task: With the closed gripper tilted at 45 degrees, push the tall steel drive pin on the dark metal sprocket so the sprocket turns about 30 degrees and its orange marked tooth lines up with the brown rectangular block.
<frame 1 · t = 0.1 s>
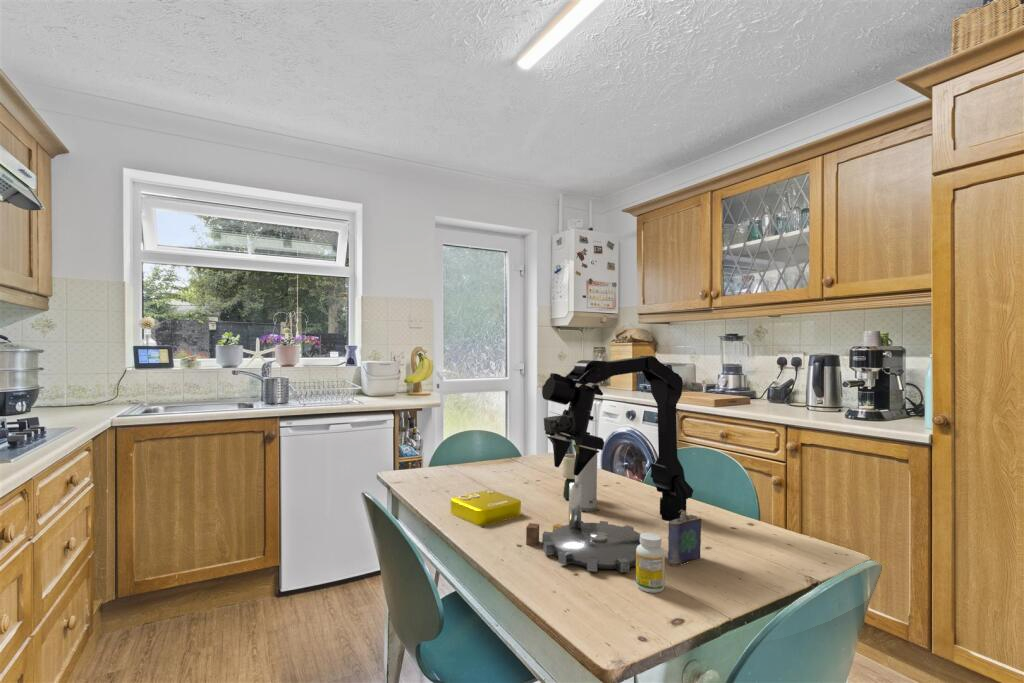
hand: (565, 471, 125), 15 cm above the table, tool pointing down, fingers open, 9 cm apart
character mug: (573, 499, 155), on the table
element tile: (485, 515, 140), on the table
travel mug: (586, 509, 145), on the table
sprocket: (599, 520, 114), point 7 cm above the table, hinge at 0.0°
brown rectangular block: (532, 542, 118), on the table
flask: (684, 561, 109), on the table
supplement bottle: (650, 587, 97), on the table
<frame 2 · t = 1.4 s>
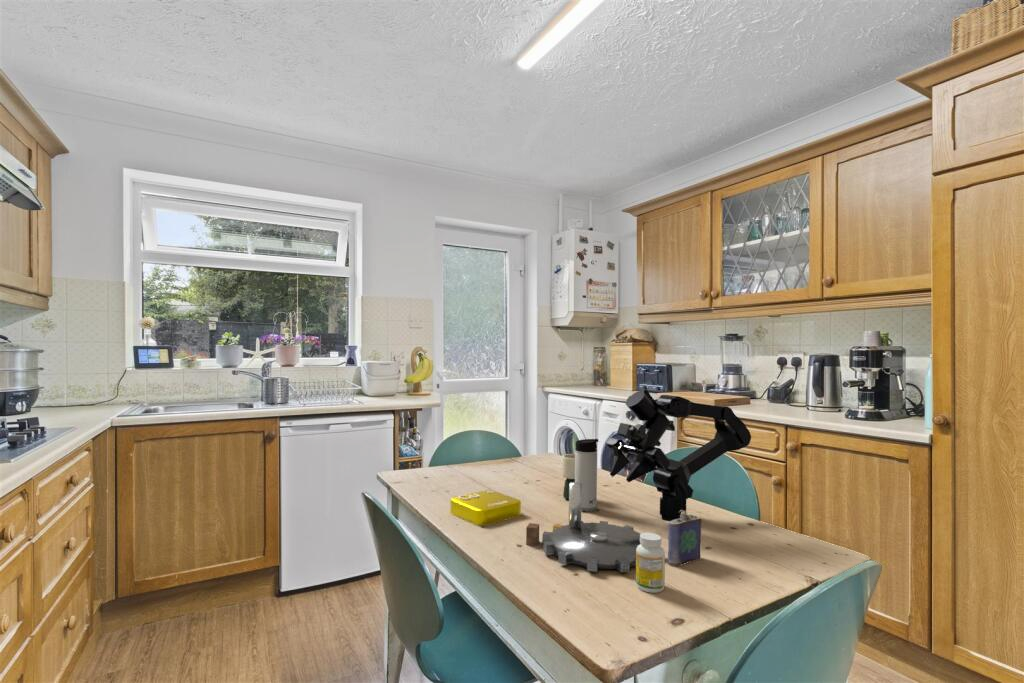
hand: (619, 478, 130), 13 cm above the table, tool tilted 45°, fingers open, 6 cm apart
nothing on the table moved.
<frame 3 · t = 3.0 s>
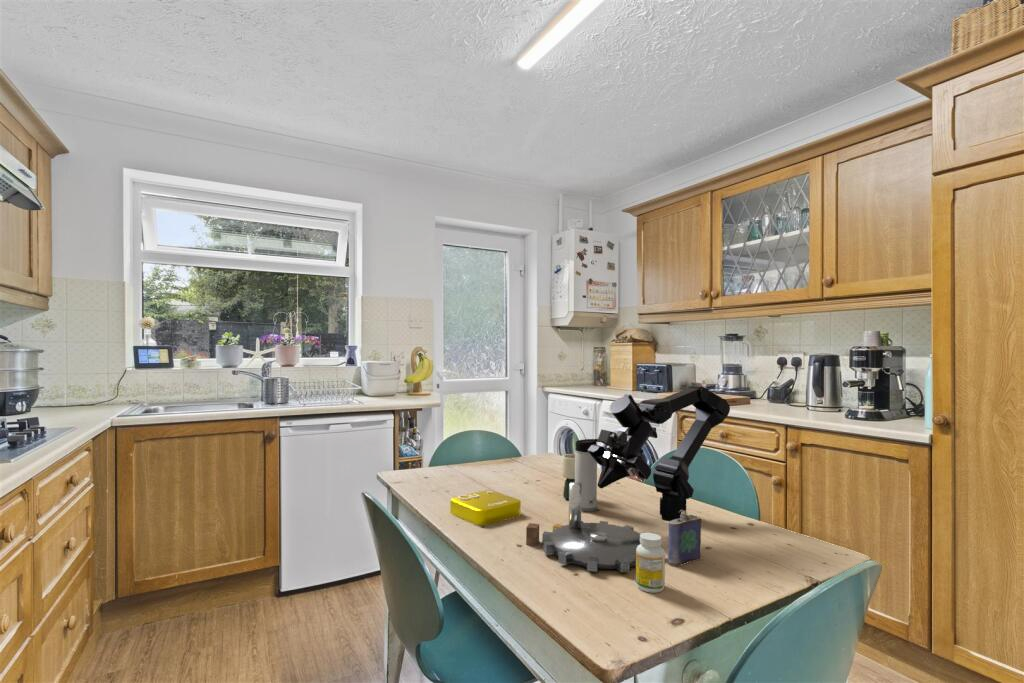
hand: (599, 487, 125), 11 cm above the table, tool tilted 45°, fingers closed
nothing on the table moved.
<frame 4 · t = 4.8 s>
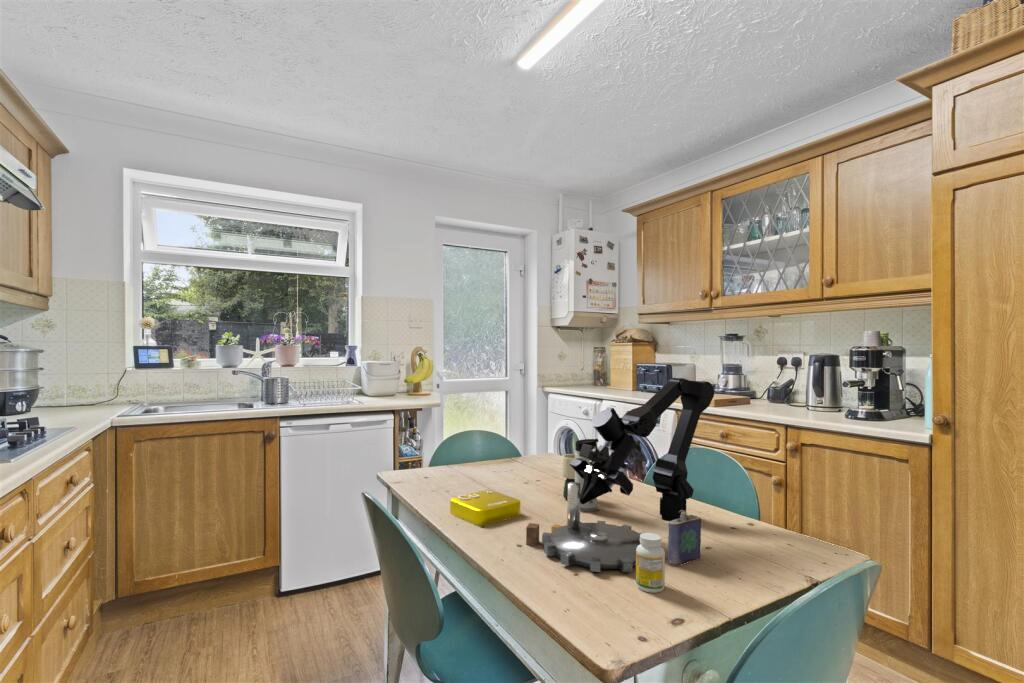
hand: (580, 502, 123), 8 cm above the table, tool tilted 45°, fingers closed
sprocket: (599, 520, 114), point 7 cm above the table, hinge at 2.9°, touching gripper
everything else where it was.
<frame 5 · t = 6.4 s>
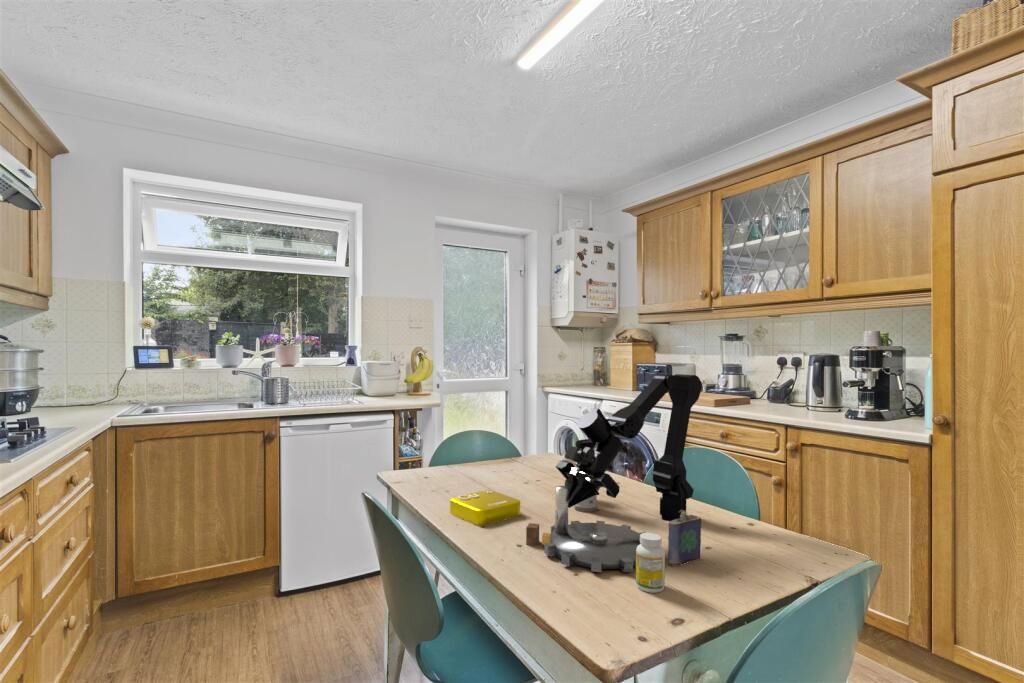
hand: (566, 505, 120), 8 cm above the table, tool tilted 45°, fingers closed
sprocket: (599, 520, 114), point 7 cm above the table, hinge at 33.7°, touching gripper
everything else where it was.
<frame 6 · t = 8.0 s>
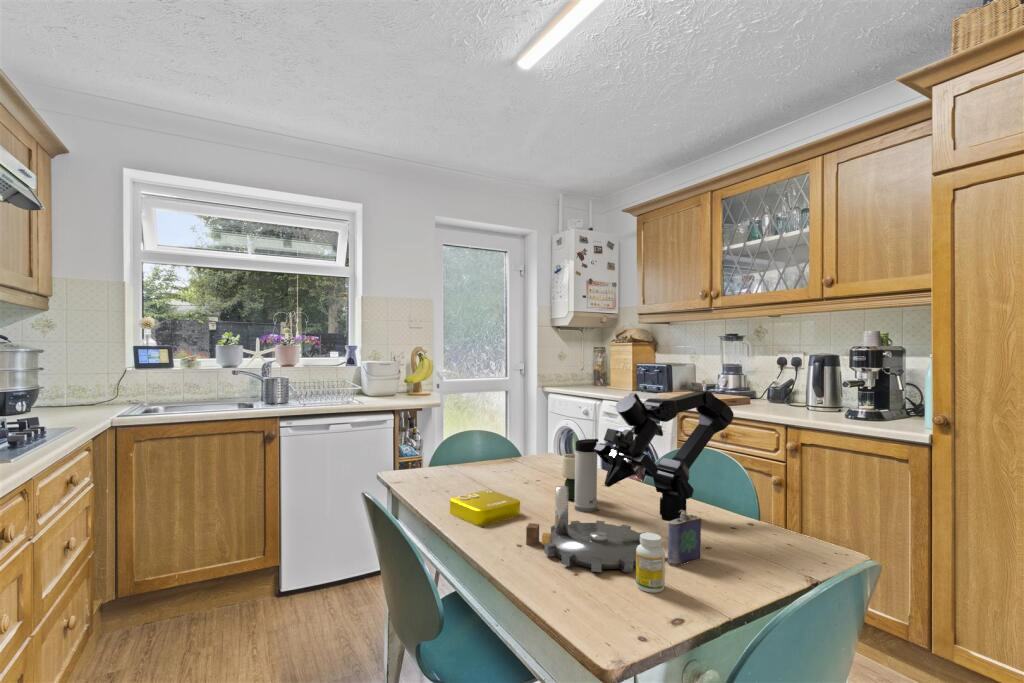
hand: (606, 485, 127), 12 cm above the table, tool tilted 45°, fingers closed
sprocket: (599, 520, 114), point 7 cm above the table, hinge at 33.8°
everything else where it was.
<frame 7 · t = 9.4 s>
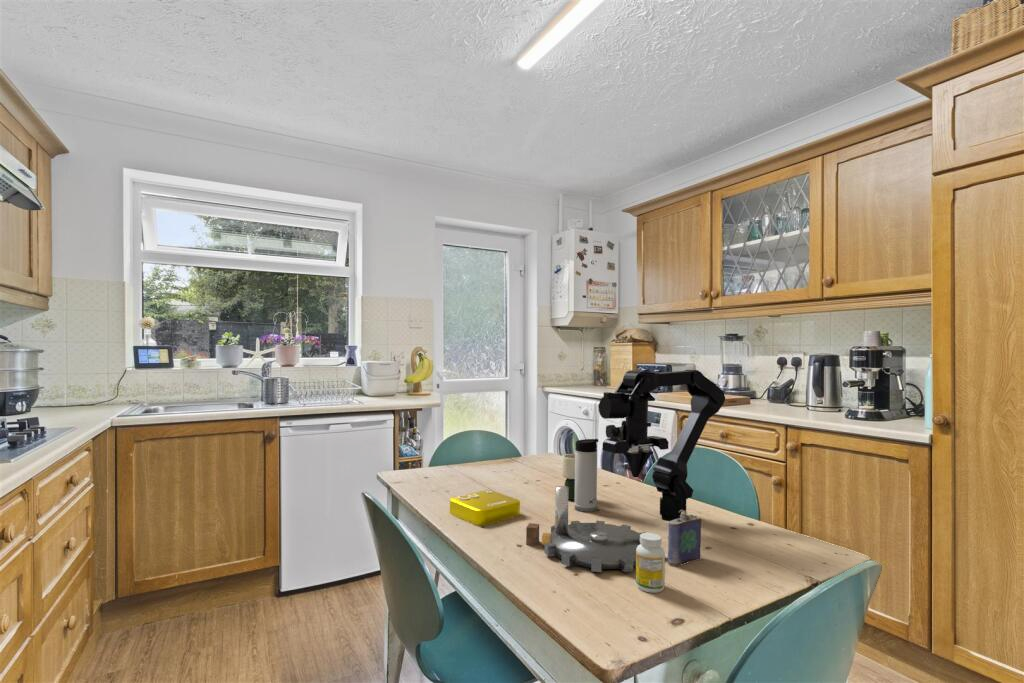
hand: (635, 477, 134), 12 cm above the table, tool pointing down, fingers closed
nothing on the table moved.
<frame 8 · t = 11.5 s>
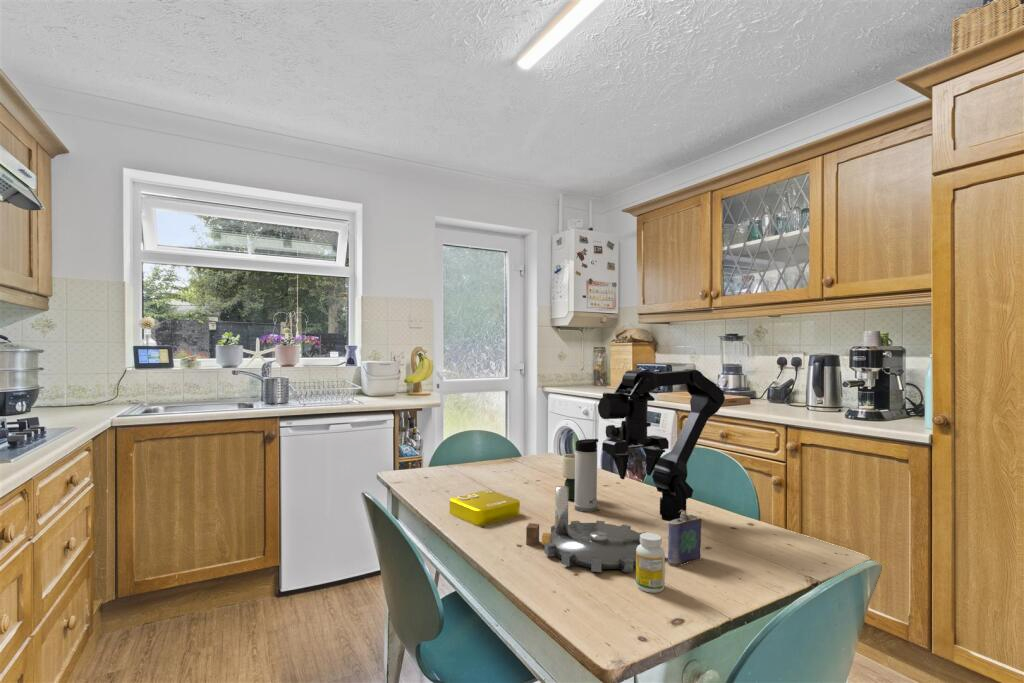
hand: (635, 477, 134), 12 cm above the table, tool pointing down, fingers open, 9 cm apart
nothing on the table moved.
at the end: sprocket at +34° (first picture: +0°) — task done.
